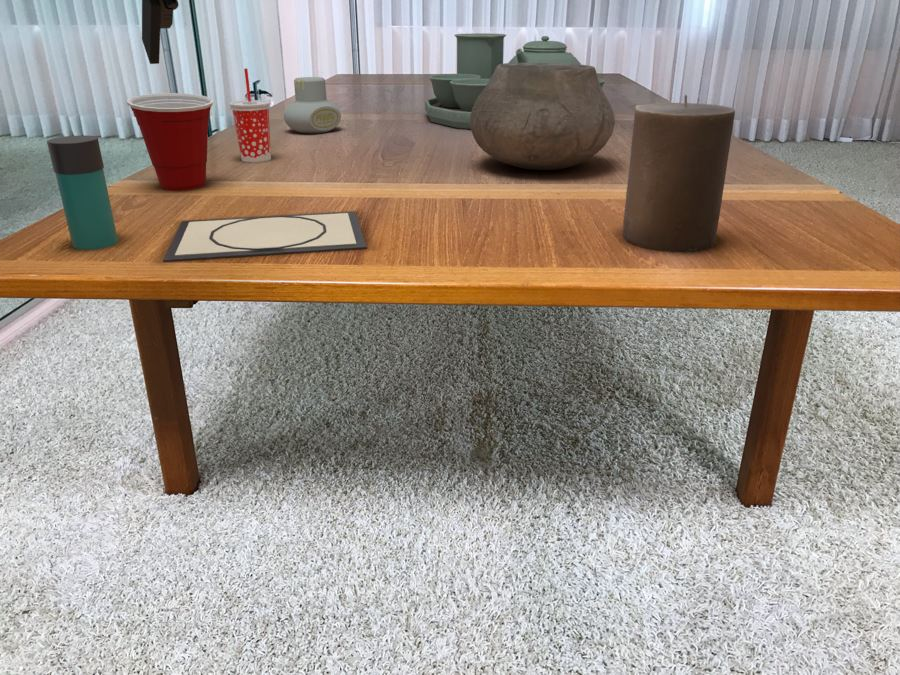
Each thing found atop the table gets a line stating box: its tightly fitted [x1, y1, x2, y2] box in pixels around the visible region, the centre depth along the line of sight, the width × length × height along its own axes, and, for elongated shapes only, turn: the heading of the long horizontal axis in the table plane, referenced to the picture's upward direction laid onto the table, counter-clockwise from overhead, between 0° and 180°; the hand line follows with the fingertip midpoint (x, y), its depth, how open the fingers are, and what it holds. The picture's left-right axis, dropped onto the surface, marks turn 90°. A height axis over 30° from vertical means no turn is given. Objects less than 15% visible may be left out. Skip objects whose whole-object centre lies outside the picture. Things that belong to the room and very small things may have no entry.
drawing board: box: [162, 210, 368, 263], centre depth 78 cm, size 20×14×1 cm
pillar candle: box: [622, 94, 736, 254], centre depth 74 cm, size 10×10×15 cm
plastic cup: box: [126, 92, 214, 192], centre depth 97 cm, size 11×11×12 cm
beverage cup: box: [229, 68, 272, 163], centre depth 113 cm, size 6×6×14 cm
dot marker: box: [46, 135, 119, 251], centre depth 74 cm, size 5×5×11 cm
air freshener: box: [283, 76, 342, 135], centre depth 139 cm, size 11×8×10 cm
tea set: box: [424, 32, 606, 130], centre depth 152 cm, size 40×40×16 cm
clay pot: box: [469, 62, 616, 172], centre depth 107 cm, size 22×21×15 cm
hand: (64, 55), depth 60 cm, fingers open, 13 cm apart
